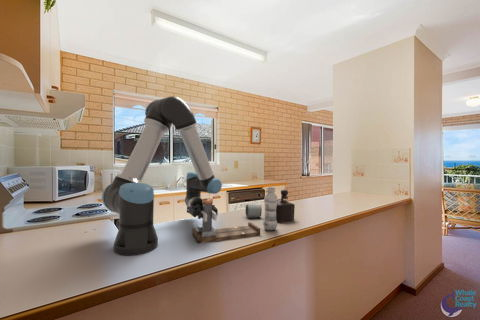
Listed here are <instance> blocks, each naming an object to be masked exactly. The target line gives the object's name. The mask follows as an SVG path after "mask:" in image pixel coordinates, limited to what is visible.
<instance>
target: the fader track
mask: <svg viewBox="0 0 480 320" xmlns="http://www.w3.org/2000/svg"><path fill="white" fill-rule="evenodd" d="M214 229H215V228H214ZM215 230H216V236H210V237H203V238H202V237H201V235H200V234H199V233H198V229H196V228H194V227H193V228H192V232H191V233H192V235H191V236H192V237H193V239H194V241H195V242H196V243H197V244H198V245H199V244H205V243H206V244H207V243H212V242H220V241H227V240H228V241H229V240H234V239H235V240H237V239H242V238H250V237H257V236H261V227H259V226H258V225H255V224H254V223H253V222H251V221H250V222H248V223H247V225H242V226H232V227H224V228H216V229H215Z"/></svg>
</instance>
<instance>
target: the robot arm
mask: <svg viewBox="0 0 480 320" xmlns="http://www.w3.org/2000/svg"><path fill="white" fill-rule="evenodd" d="M144 112H145V113H144V114H145V117H144V119H143V122H144V125H145V126H144V127H143V130H142V132H141V134H140V136H139V137H138V140H137V142H136V144H135V146H134V148H133V150H132V151H131V154H130V155H129V157H128V159H127V162H126V163H125V166H124V168H123V169H122V172H121V173H120V174H117V175H115V177H114V178H113V180H112V183H109V184H108V185H107V186H106V187H105V188H104V189H103V192H102V194H101V200H102V201H101V202H102V204H103V206H105V208H107V209H108V210H110V211H111V212H113V213H116V214H118V216H119V218H118V221H119V225H118V231H117V234H116V236H115V240H114V242H113V252H114V253H115V254H116V255H120V256H121V255H122V256H136V255H141V254H145V253H149V252H150V251H152V250H155V249H156V248H157V247H158V245H159V239H158V238H159V237H158V235H157V232H156V228H155V226H154V211H155V210H154V209H155V208H154V206H155V204H154V201H155V192H154V188H153V186H152V185H151V184H148V183H144V182H143V180H144V178H145V175H146V173H147V170H148V168H149V167H150V165H151V162H152V160H153V158H154V156H155V153H156V152H157V149H158V146H159V145H160V143H161V141H162V138H163V136H164V135H165V134H166V133H167V134H168V133H169V131H170V130H171V127H172V125H173V126H174V129H175V130H176V131H178V132H179V134H180V136H181V139H182V142H183V144H184V147H185V149H186V151H187V153H188V156H189V159H190V162H191V164H192V166H193V169H194V171H190V172H187V174H186V179H185V180H186V183H185V184H186V193H185V195H186V196H185V198H184V202H185V205H186V213H188V214H190V215H191V217H193V218H196V217H197V218H198V220H200V219H202V220H204V221H205V222H206V221H207V214H206V213H205V212H204V211H203V204H202V199H203V198H202V197H201V195H202V194H201V193H205V194H206V193H207V194H209V195H211V194H214V195H215V194H216V195H217V194H218V193H220V191H222V186H223V185H222V183H223V182H222V181H221V180H220V179H219V178H217V177H216V176H215V175H214V172H213V170H212V169H213V168H212V166H211V163H210V161H209V158H208V156H207V153H206V150H205V147H204V145H203V143H202V139H201V136H200V134H199V132H198V129H197V126H196V125H197V120H196V117H195V115H194V112H193V111H192V109H191V108H190V106H189V105H188V104H187V103H186V102H185V101H184V100H183V99H182V98H180V97H178V96H167V97H165V98H161V99H156V100H153V101H151V102H150V103H149V104H148V105H147V106H146V108H145V110H144ZM217 217H218V208H217V207H216V206H215V204H212V221H217Z"/></svg>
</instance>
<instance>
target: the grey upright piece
mask: <svg viewBox="0 0 480 320" xmlns="http://www.w3.org/2000/svg"><path fill="white" fill-rule="evenodd" d="M201 199H202V204H203V211H204V212H205V213H206V214H207V221H206V222H205V221H204V220H203V219H202V224H201V225H202V226H201V227H199V226H198V227H197V231H198V233H199V234H200V235H201V237H202V238H203V237H210V236H216V230H215V228H214V227H213V219H212V205H214V204H213V203H214V199H213V198H209V197H208V198H201Z"/></svg>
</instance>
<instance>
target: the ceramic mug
mask: <svg viewBox="0 0 480 320" xmlns="http://www.w3.org/2000/svg"><path fill="white" fill-rule="evenodd" d="M262 212H263V211H262V206H261V204H255V203H253V204H252V203H247V204H246V205H245V217H246V219H248V218H249V219H250V218H251V219H252V218H255V219H256V218H257V219H258V218H260V217H261V216H262Z"/></svg>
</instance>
